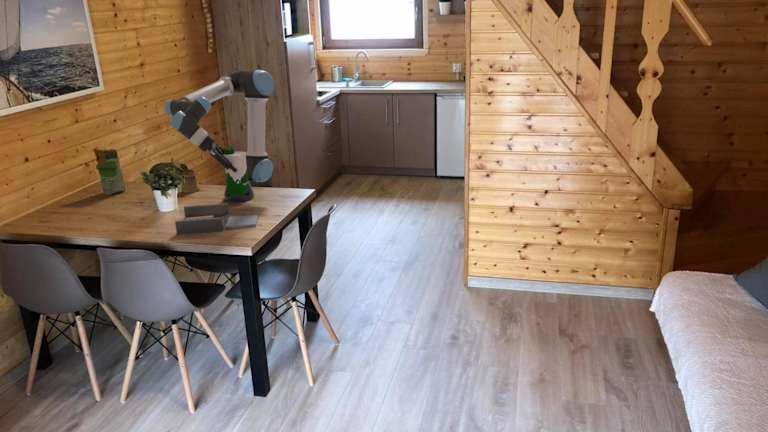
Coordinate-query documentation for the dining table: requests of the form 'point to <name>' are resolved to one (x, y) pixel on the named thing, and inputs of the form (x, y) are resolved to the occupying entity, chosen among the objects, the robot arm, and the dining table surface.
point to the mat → (242, 221)
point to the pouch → (109, 170)
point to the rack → (203, 224)
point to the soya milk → (234, 181)
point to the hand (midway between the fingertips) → (243, 172)
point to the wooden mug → (187, 178)
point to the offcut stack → (199, 217)
